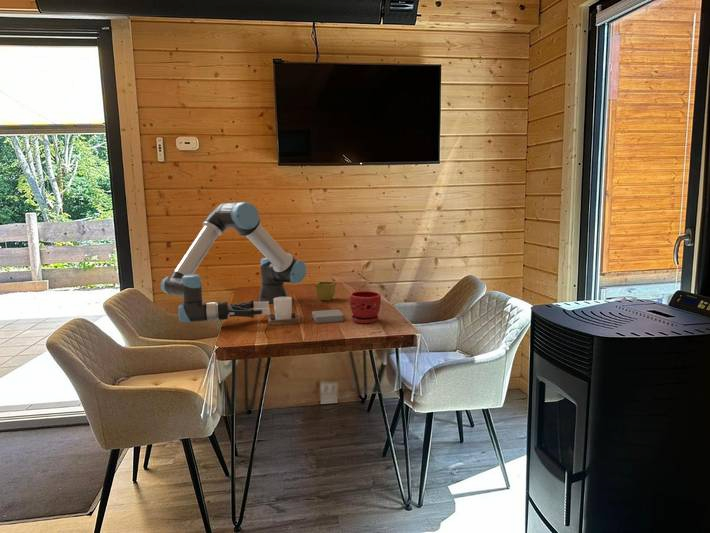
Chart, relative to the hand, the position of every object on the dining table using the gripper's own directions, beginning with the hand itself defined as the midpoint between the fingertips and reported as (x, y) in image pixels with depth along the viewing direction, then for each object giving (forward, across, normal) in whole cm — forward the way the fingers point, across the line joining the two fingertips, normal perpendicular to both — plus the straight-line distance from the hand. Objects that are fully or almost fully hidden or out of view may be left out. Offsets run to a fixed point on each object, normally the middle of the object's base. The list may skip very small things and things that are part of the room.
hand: (269, 307), depth 206 cm
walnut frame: (+6, 0, -6) cm, 9 cm away
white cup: (+6, 0, -7) cm, 9 cm away
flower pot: (+30, -41, -7) cm, 51 cm away
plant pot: (+40, +10, -7) cm, 42 cm away
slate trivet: (+25, +1, -6) cm, 26 cm away
